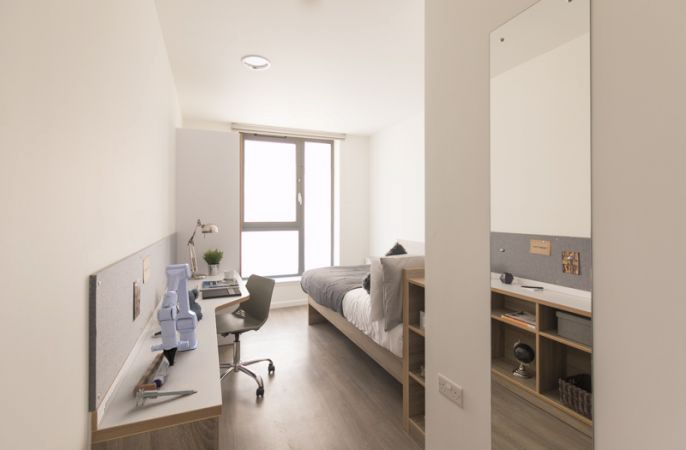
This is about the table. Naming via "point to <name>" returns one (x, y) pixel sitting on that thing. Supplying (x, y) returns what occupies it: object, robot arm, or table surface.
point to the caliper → (160, 394)
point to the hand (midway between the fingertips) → (172, 364)
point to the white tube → (161, 372)
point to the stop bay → (148, 376)
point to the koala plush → (193, 302)
